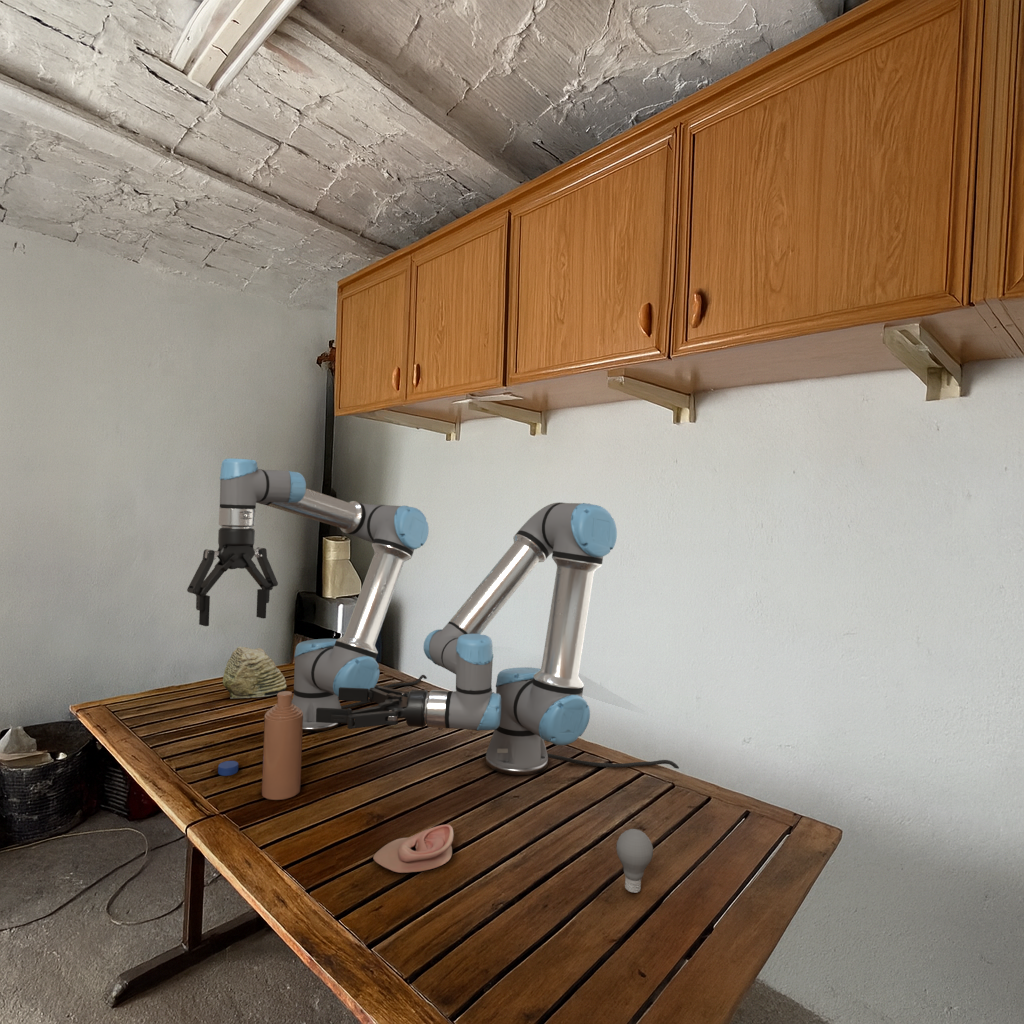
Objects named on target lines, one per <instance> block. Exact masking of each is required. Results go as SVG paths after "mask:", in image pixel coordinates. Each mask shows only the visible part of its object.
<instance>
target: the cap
mask: <svg viewBox="0 0 1024 1024" xmlns="http://www.w3.org/2000/svg"><path fill="white" fill-rule="evenodd" d="M238 771H239V762H238V761H237V760H226V761H222V762H220V763H219V764H218V767H217V774H218V775H219V776H221V777H223V776H224V777H227V776H232V775H235V774H237V773H238Z"/></svg>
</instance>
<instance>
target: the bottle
mask: <svg viewBox="0 0 1024 1024" xmlns="http://www.w3.org/2000/svg"><path fill="white" fill-rule="evenodd" d="M276 697H277V703H276V704H275V705H274V706H272V707H270V708H269V709H268V710H267V711H266V712H265V714H264V719H263V747H262V750H263V751H262V770H261V771H262V772H261V773H262V774H261V796H262V797H263V798H265V799H267V800H272V801H280V800H287V799H290V798H293V797H295V796H296V795H299V793H300V792H301V780H302V759H303V758H302V757H303V733H304V732H303V712H302V710H301V709H300V708H298V707H297V706H296V705H294V704H293V703H292V699H293V692H292V691H289V690H285V691H282V692H279V693H278V694H276Z"/></svg>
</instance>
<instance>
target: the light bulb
mask: <svg viewBox="0 0 1024 1024" xmlns="http://www.w3.org/2000/svg"><path fill="white" fill-rule="evenodd" d="M615 849H616V854H617V857H618V859H619V861H620V863H621V865H622V867H623V873H624V874H623V875H624V876H625V878H624V888H625V890H627V891H628V892H630V893H634V894H635V893H639V892H640V891H641V889H642V887H641V886H642V879H643V877H644V875H645V871H646V868H647V867H648V866H649V864H650V863H651V861H652V859H653V855H654V847H653V843H652V841H651V838H649V836H648V835H647V834H646V833H645V832H643V831H642V830H641V829H636V828H629V829H627V830H625V831H623V832H622V833H621V834H620V835H619V837H618V839H617V841H616V847H615Z"/></svg>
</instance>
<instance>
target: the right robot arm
mask: <svg viewBox="0 0 1024 1024" xmlns="http://www.w3.org/2000/svg"><path fill="white" fill-rule="evenodd" d="M617 540H618V529H617V524H616V522H615V519H614V518H613V516H612V514H611V513H610V511H609V510H607V508H605V507H603V506H601V505H598V504H592V503H586V502H583V503H581V502H580V503H579V502H578V503H577V502H553V503H550V504H548V505H545V506H544V507H542V508H540V509H539V510H538V511H537V512H535V513H534V514H533V515H532V516H530V518H529V519H528V520H527V521H526V522H524V524H523V525H522V526H521V527H520V528H519V529H518V531H517V532H516V533H515V534H514V536H513V543H512V545H510V547H509V548H508V549H507V551H506V552H504V554H503V555H502V557H501V558H500V559H499V560H498V561H497V563H496V564H495V565H494V567H493V568H492V569H491V570H490V571H489V573H488V574H487V575H486V576H485V577H484V579H483V580H482V581H481V582H480V584H479V585H478V586H477V587H476V588H475V590H474V591H473V592H472V593H471V594H470V596H468V598H467V599H466V601H464V602H463V604H462V605H461V607H460V608H459V609H458V610H457V611H456V612H455V614H454V615H453V616H452V617H451V618H450V620H449V621H448V622H447V623H446V624H445V625H444V627H442V629H435V630H432V631H430V632H429V633H428V634H427V635H426V637H425V639H424V641H423V653H424V655H425V656H426V658H427V659H428V660H430V661H431V662H432V663H433V664H434V665H437V666H438V667H441V668H443V669H446V670H447V671H449V672H451V673H452V674H454V675H455V691H454V690H444V689H443V690H441V689H440V690H439V689H431V690H430V691H428V690H427V689H416V688H415V689H414V688H413V689H411V690H409V691H406V690H399V689H396V688H392V687H390V688H387V687H383V686H384V685H383V686H382V685H378V684H376V686H375V687H374V688H370V689H369V690H368V689H366V688H345V687H340V688H339V697H338V699H339V701H346V702H361V701H364V702H367V701H368V699H369V703H368V704H371V703H376V704H377V705H376V706H369V707H366V708H360V709H355V710H352V708H351V707H350V708H345V709H335V708H317V709H316V722H323V723H341V725H342V724H343V725H347V730H354V729H361V728H362V729H363V728H369V727H377V726H397V725H398V724H399V719H404V720H405V722H406V725H407V726H408V727H411V728H424V727H426V726H427V727H428V728H433V729H434V728H435V729H438V730H439V731H442V730H443V729H454V730H456V729H457V730H470V731H477V732H479V731H493V732H492V733H493V734H492V736H491V738H490V742H489V744H488V746H487V750H486V753H485V764H486V765H487V767H488V768H490V769H491V770H492V771H495V772H498V773H501V774H504V775H510V776H530V775H536V774H539V773H541V772H544V770H546V769H547V767H548V766H549V759H552V760H553V759H554V760H559V761H563V762H567V763H571V764H575V765H576V764H577V765H583V766H590V767H597V768H598V767H599V768H618V769H619V768H621V769H622V768H633V767H644V766H645V767H647V766H648V767H649V766H650V767H651V766H658V765H669V766H671V767H673V768H674V769H677V770H678V769H680V767H679V766H678V764H677V763H676V762H674V761H672V760H669V759H658V760H652V761H651V760H650V761H634V762H624V763H612V762H611V763H609V762H596V761H587V760H580V759H575V758H571V757H567V756H563V755H557V754H552V753H549V752H548V751H547V747H546V744H545V743H546V742H547V743H551V744H553V745H555V746H560V747H561V746H562V747H563V746H569V745H570V744H573V743H574V742H576V741H577V740H578V738H579V737H581V736H582V735H583V734H584V732H585V731H586V730H587V727H588V725H589V723H590V718H591V709H590V706H589V704H588V701H586V699H585V698H584V697H583V692H584V686H585V685H584V681H582V679H581V678H580V676H579V675H580V667H581V662H582V655H583V647H584V641H585V635H586V627H587V621H588V614H589V608H590V603H591V602H590V601H591V596H592V588H593V581H594V575H595V572H596V571H597V570H598V569H600V568H601V567H602V566H603V561H604V557H605V556H607V555H609V554H610V553H611V551H612V550H613V549H614V548H615V546H616V543H617ZM550 555H551V559H552V560H553V562H554V563H555V565H556V571H555V578H554V584H553V590H552V597H551V603H550V610H549V617H548V623H547V630H546V636H545V643H544V649H543V655H542V661H541V666H540V667H541V668H537V667H528V666H527V667H525V666H524V667H523V666H521V667H511V668H509V667H508V668H505V669H502V670H500V671H499V672H498V673H497V676H496V683H495V692H494V691H493V688H492V687H493V686H492V684H493V683H492V682H493V681H492V680H493V678H492V677H493V665H494V664H493V662H494V652H493V639H492V638H491V637H490V636H489V635H487V634H482V633H483V632H484V631H485V629H486V628H487V627H488V626H489V625H490V623H491V622H492V621H493V619H494V618H495V617H496V616H497V614H498V613H499V612H500V611H501V609H503V607H504V606H505V605H506V603H507V602H508V601H509V600H510V598H511V597H512V596H513V594H514V593H515V592H516V591H517V589H518V588H519V587H520V586H521V584H523V582H524V581H525V580H526V578H527V577H528V576H529V575H530V574H531V572H532V571H533V570H534V568H535V567H536V566H537V565H538V564H539V563H545V561H546V560H547V559H548V558H549V556H550Z"/></svg>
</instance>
